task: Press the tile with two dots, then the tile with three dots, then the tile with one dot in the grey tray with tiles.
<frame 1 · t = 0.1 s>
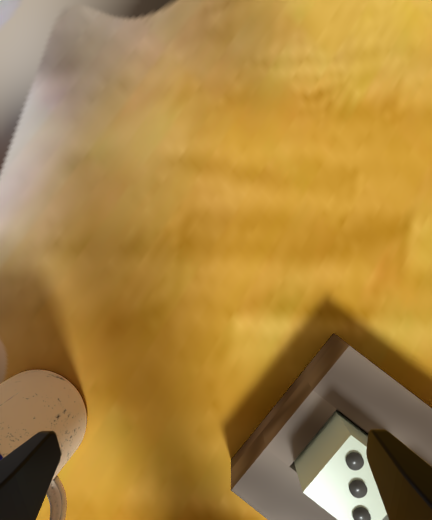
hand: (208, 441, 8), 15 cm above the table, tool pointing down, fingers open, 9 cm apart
teacup with lid: (52, 427, 25), on the table
grey tray with tiles: (396, 487, 23), on the table
tile three: (348, 470, 19), point 4 cm above the table, slide at 0.0 cm
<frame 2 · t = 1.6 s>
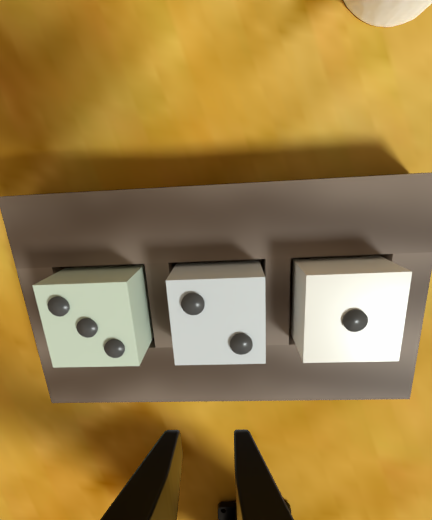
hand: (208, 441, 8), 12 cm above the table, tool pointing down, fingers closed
tile two: (218, 311, 16), point 4 cm above the table, slide at 0.0 cm
grey tray with tiles: (220, 287, 19), on the table
tile three: (99, 314, 16), point 4 cm above the table, slide at 0.0 cm
tile one: (343, 307, 15), point 4 cm above the table, slide at 0.0 cm
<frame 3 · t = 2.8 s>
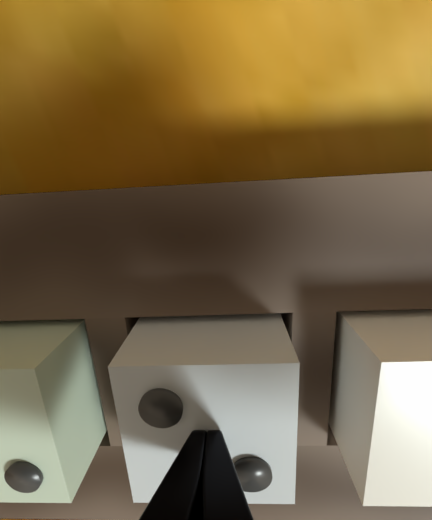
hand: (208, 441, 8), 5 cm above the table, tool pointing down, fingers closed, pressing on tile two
tile two: (210, 401, 9), point 4 cm above the table, slide at 0.0 cm, touching gripper
grey tray with tiles: (215, 339, 13), on the table
tile three: (9, 404, 10), point 4 cm above the table, slide at 0.0 cm
tile one: (429, 399, 9), point 4 cm above the table, slide at 0.0 cm
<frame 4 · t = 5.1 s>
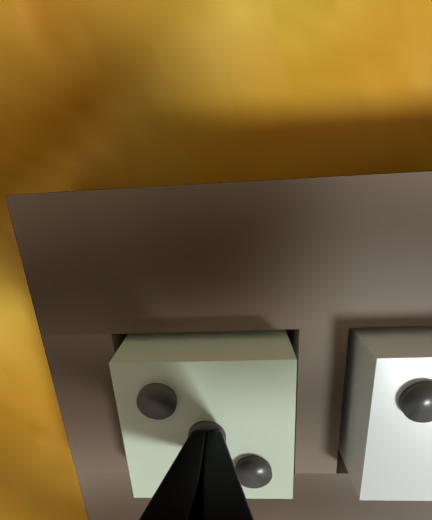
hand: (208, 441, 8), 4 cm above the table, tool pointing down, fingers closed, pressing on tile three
tile two: (425, 396, 9), point 3 cm above the table, slide at 1.2 cm
grey tray with tiles: (382, 349, 11), on the table
tile three: (210, 398, 9), point 3 cm above the table, slide at 1.2 cm, touching gripper, grey tray with tiles
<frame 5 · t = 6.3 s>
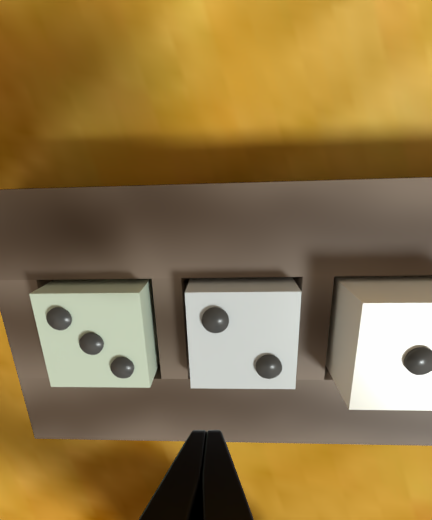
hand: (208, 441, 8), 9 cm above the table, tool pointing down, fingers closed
tile two: (241, 327, 14), point 3 cm above the table, slide at 1.2 cm
grey tray with tiles: (239, 304, 16), on the table
tile three: (105, 327, 14), point 3 cm above the table, slide at 1.2 cm, touching grey tray with tiles
tile one: (398, 340, 12), point 4 cm above the table, slide at 0.0 cm
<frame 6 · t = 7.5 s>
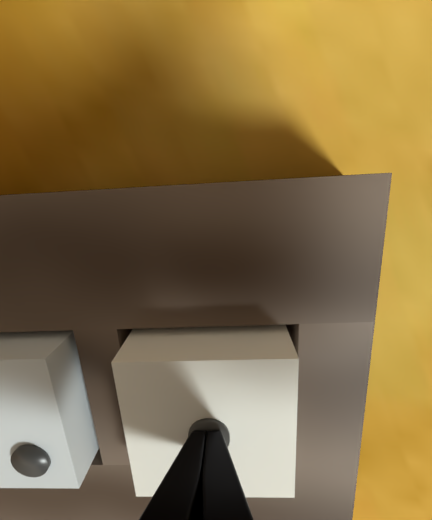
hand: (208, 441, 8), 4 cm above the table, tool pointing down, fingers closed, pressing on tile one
tile two: (19, 395, 10), point 3 cm above the table, slide at 1.2 cm
grey tray with tiles: (61, 352, 12), on the table
tile one: (211, 397, 9), point 3 cm above the table, slide at 1.0 cm, touching gripper
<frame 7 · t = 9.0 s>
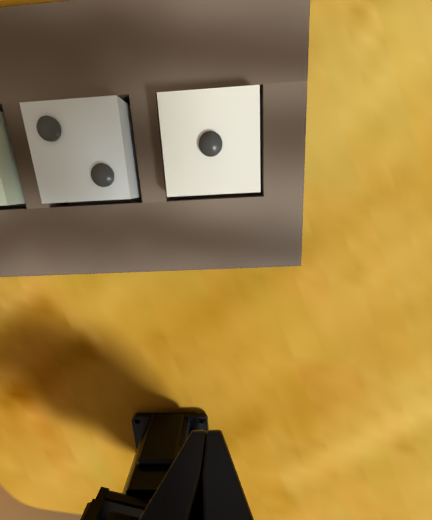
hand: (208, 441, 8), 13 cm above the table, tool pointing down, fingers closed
tile two: (90, 155, 16), point 3 cm above the table, slide at 1.2 cm
grey tray with tiles: (109, 158, 18), on the table
tile one: (212, 147, 15), point 3 cm above the table, slide at 1.2 cm, touching grey tray with tiles
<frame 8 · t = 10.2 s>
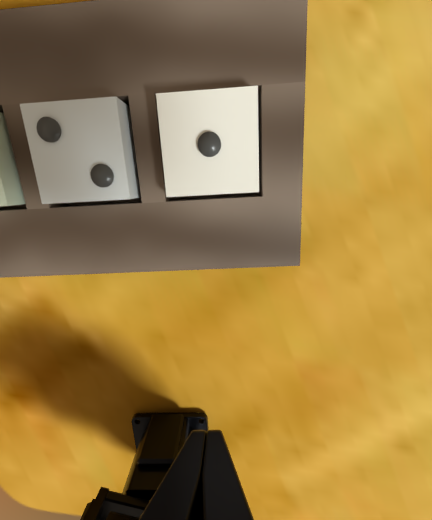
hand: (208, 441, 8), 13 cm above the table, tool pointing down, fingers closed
tile two: (90, 155, 16), point 3 cm above the table, slide at 1.2 cm
grey tray with tiles: (108, 159, 18), on the table
tile one: (211, 147, 15), point 3 cm above the table, slide at 1.2 cm, touching grey tray with tiles
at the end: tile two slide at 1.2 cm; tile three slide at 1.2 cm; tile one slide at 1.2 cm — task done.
